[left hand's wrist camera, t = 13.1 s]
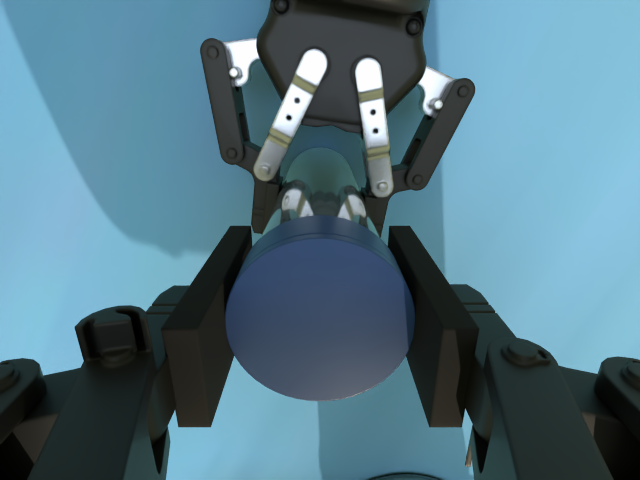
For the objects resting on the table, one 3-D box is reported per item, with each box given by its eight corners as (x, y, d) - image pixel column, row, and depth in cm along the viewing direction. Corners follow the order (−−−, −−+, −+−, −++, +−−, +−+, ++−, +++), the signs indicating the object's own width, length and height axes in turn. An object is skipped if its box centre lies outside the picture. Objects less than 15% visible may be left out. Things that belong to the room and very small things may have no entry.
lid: (435, 279, 12) (456, 313, 10) (332, 382, 13) (334, 428, 11) (304, 178, 11) (301, 196, 9) (207, 303, 12) (187, 340, 10)
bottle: (366, 174, 27) (440, 306, 10) (325, 223, 29) (332, 409, 12) (314, 133, 26) (304, 202, 9) (274, 185, 28) (202, 330, 11)
